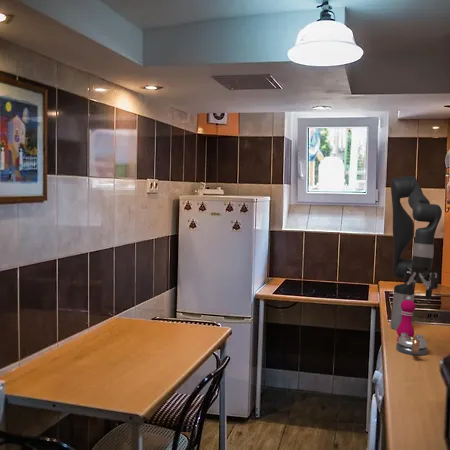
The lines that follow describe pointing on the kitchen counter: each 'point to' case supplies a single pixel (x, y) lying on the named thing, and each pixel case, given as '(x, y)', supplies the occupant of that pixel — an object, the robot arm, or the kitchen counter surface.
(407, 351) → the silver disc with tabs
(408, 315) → the pepper mill
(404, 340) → the crank handle
